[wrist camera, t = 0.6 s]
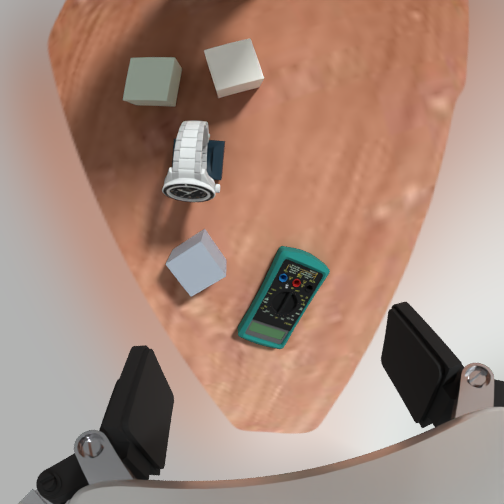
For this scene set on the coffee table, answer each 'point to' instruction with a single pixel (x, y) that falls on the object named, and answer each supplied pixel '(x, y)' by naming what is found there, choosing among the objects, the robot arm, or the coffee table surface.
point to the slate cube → (197, 263)
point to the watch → (194, 164)
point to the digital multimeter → (283, 297)
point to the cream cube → (234, 67)
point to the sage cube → (153, 81)
